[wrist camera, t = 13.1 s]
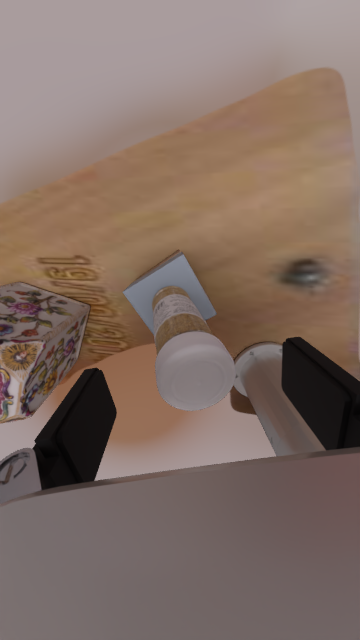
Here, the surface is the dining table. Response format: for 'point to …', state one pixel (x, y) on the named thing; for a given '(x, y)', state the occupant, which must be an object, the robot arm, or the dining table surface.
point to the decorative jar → (35, 346)
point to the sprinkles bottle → (188, 354)
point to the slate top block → (164, 276)
